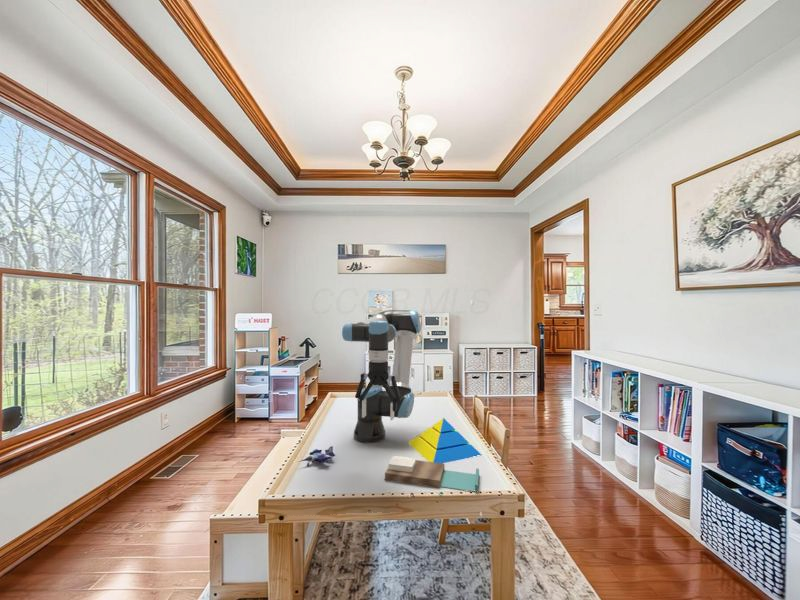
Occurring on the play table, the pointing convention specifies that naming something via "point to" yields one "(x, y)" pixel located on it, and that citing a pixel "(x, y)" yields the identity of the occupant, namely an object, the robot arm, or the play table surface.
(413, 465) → the tile
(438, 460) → the pyramid toy
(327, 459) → the toy airplane
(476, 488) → the mat
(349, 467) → the play table surface
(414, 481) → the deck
